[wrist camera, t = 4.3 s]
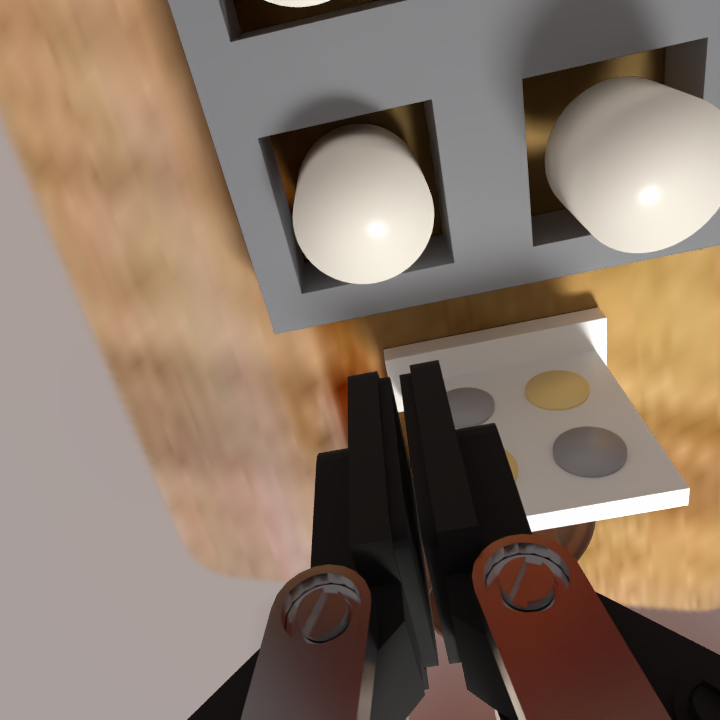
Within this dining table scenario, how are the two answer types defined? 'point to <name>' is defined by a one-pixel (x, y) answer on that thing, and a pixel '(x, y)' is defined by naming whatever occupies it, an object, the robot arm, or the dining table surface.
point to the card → (553, 417)
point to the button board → (444, 122)
